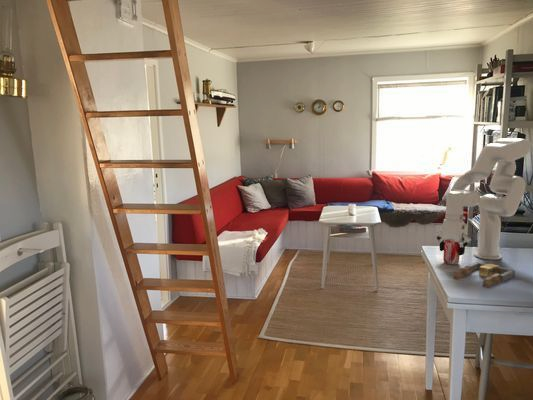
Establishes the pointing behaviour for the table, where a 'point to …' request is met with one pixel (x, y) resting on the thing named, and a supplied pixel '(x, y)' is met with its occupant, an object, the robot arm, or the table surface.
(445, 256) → the soda can
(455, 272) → the slot rails
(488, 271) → the tan wooden cube
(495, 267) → the wooden cube
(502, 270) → the grey u-shaped frame
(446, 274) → the table surface
